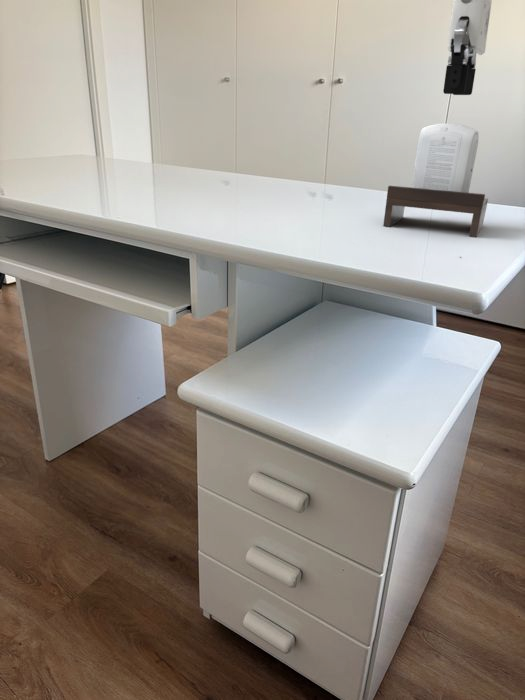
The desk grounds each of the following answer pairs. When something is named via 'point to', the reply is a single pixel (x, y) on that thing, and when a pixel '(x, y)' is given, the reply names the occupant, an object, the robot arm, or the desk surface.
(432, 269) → the desk surface
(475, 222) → the shelf
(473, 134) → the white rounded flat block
